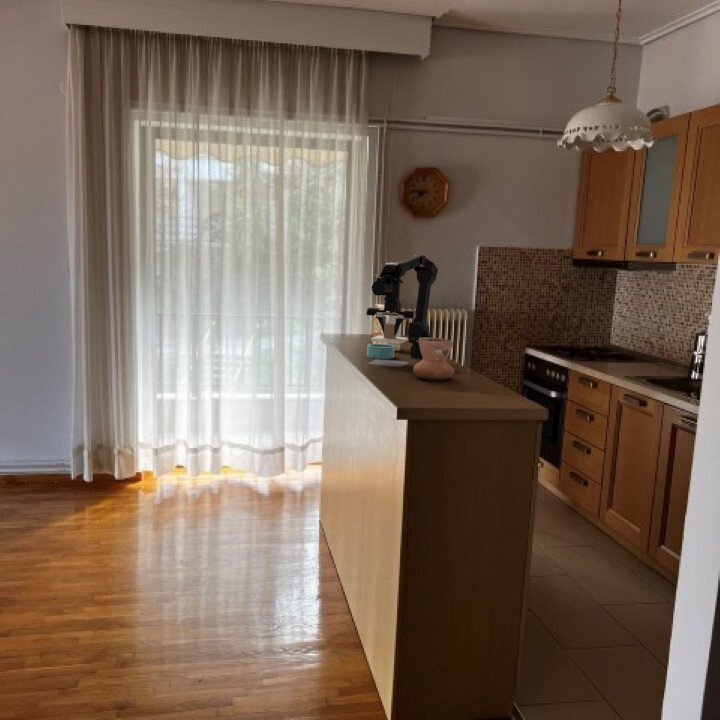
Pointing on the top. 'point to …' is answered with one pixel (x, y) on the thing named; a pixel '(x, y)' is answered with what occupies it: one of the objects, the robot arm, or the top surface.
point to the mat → (388, 362)
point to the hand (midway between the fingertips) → (389, 334)
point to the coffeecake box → (378, 330)
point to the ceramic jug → (434, 359)
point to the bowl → (380, 351)
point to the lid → (389, 335)
